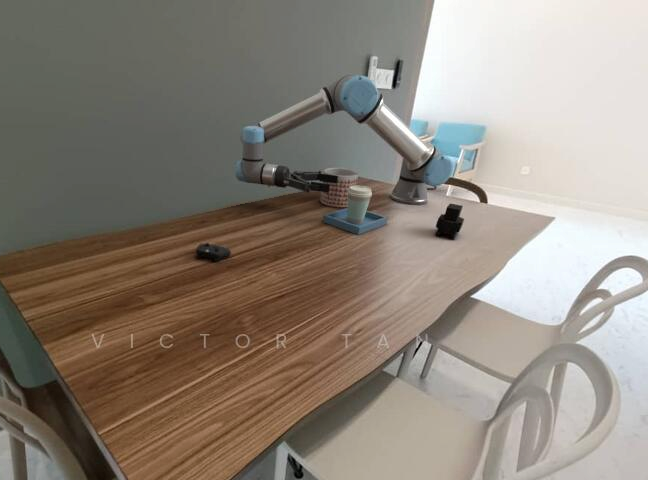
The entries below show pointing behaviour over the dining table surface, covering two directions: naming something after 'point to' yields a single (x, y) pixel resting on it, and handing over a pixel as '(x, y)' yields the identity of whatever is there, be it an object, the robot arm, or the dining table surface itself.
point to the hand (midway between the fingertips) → (333, 183)
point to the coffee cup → (357, 203)
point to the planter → (339, 187)
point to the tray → (341, 222)
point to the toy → (450, 221)
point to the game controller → (212, 251)
